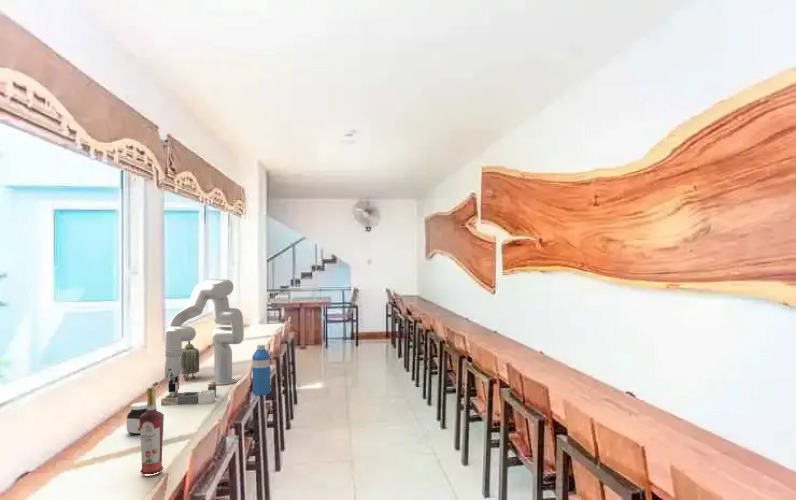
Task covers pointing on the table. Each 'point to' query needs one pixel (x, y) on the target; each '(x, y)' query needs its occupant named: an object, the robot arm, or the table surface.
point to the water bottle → (261, 371)
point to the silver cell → (174, 394)
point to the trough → (169, 400)
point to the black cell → (212, 386)
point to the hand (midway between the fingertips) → (173, 390)
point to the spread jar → (135, 417)
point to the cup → (206, 397)
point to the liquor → (151, 436)
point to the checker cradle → (188, 398)
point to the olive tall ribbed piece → (189, 360)
